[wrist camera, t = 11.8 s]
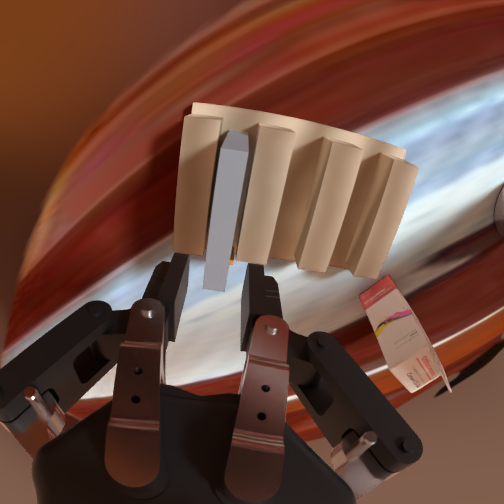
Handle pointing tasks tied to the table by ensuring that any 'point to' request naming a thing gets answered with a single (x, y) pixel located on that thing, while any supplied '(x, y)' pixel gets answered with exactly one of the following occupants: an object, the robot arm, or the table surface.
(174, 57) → the table surface
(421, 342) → the ink cartridge box
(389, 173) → the rack
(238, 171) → the panel
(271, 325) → the robot arm
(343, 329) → the table surface
